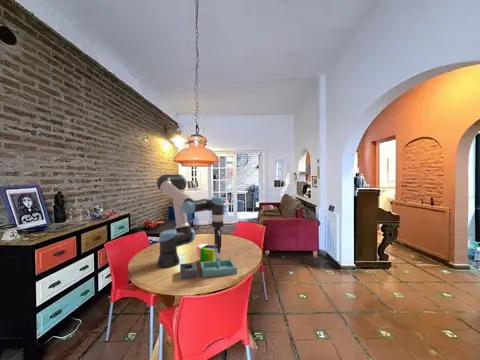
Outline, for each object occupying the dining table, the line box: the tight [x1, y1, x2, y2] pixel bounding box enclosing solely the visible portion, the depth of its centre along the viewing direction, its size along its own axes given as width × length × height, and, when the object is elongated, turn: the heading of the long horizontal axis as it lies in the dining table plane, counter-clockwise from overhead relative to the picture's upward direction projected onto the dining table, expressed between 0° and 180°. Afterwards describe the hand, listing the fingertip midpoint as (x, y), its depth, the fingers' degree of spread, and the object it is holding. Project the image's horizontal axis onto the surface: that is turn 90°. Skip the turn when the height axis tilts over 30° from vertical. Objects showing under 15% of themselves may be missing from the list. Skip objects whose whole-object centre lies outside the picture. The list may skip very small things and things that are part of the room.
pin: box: [213, 243, 221, 269], centre depth 154 cm, size 5×5×16 cm
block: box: [179, 262, 198, 280], centre depth 149 cm, size 12×10×5 cm
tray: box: [199, 258, 238, 278], centre depth 155 cm, size 16×22×4 cm
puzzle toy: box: [199, 244, 216, 263], centre depth 172 cm, size 10×10×10 cm
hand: (217, 256), depth 154 cm, fingers closed on pin, 5 cm apart
